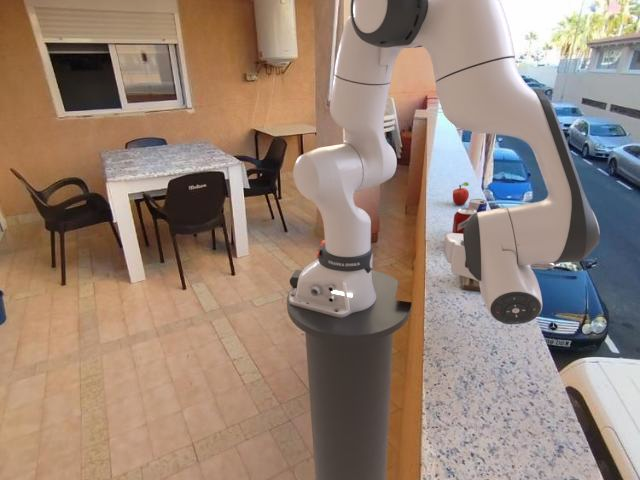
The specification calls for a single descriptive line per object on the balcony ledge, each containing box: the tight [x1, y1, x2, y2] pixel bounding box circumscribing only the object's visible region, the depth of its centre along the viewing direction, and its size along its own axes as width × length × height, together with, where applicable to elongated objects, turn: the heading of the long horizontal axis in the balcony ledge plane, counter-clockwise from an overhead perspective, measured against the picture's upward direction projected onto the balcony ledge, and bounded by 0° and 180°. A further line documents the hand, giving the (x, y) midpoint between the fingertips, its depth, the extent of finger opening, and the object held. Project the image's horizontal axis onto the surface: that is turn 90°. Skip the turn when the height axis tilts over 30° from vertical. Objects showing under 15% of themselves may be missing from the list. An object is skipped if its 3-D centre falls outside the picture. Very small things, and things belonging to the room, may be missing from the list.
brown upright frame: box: [461, 276, 481, 292], centre depth 94 cm, size 10×8×15 cm
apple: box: [452, 181, 470, 206], centre depth 151 cm, size 8×7×10 cm
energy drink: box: [467, 198, 488, 213], centre depth 121 cm, size 5×5×12 cm
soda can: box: [451, 207, 477, 234], centre depth 114 cm, size 7×7×12 cm
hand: (491, 234), depth 82 cm, fingers closed on latch lever, 3 cm apart
